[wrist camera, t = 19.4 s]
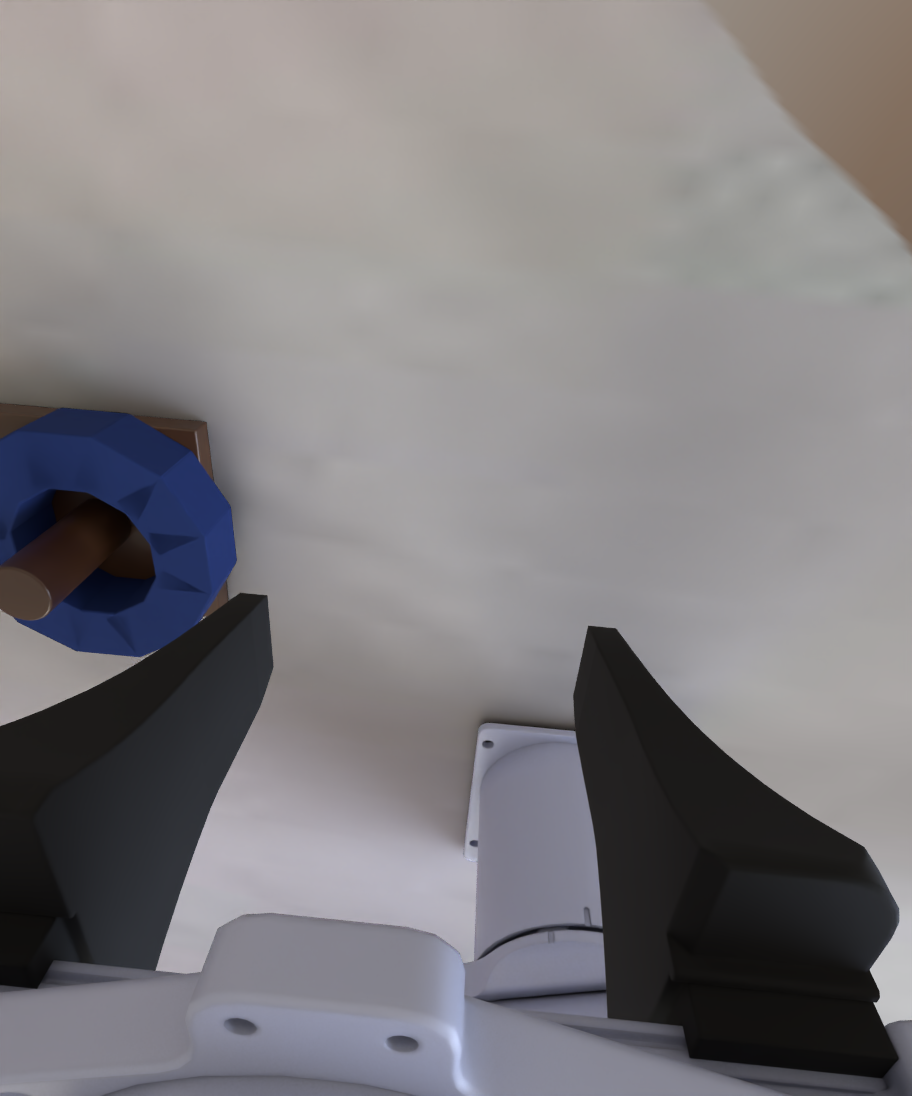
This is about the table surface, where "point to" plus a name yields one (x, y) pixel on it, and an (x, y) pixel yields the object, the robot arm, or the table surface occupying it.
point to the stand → (84, 532)
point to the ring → (149, 502)
